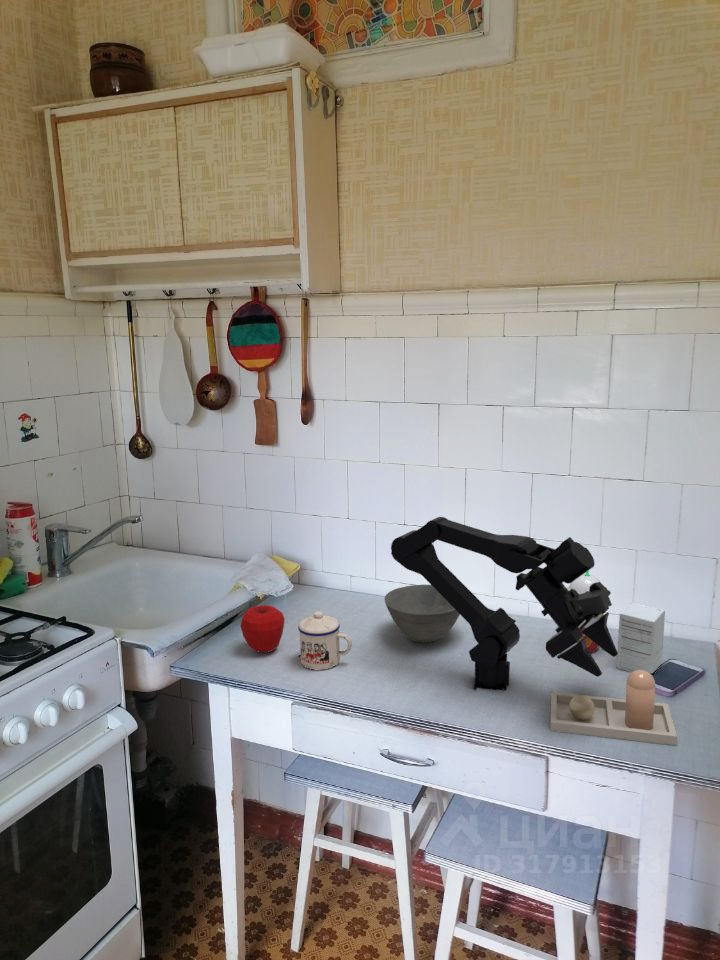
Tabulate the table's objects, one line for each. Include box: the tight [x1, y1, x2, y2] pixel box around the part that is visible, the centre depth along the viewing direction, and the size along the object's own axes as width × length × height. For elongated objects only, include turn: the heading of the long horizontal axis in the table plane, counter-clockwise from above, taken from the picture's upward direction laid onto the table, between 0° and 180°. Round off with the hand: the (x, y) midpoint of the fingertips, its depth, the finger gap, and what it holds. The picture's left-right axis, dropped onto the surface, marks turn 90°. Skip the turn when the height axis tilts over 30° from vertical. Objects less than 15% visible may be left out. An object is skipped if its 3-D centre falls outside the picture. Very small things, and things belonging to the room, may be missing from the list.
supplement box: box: [616, 602, 666, 673], centre depth 152 cm, size 7×7×13 cm
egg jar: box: [625, 670, 656, 730], centre depth 130 cm, size 5×5×10 cm
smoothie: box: [566, 570, 605, 654], centre depth 160 cm, size 8×8×20 cm
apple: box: [240, 604, 285, 653], centre depth 165 cm, size 10×10×11 cm
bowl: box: [384, 584, 461, 644], centre depth 169 cm, size 19×19×10 cm
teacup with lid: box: [297, 611, 353, 670], centre depth 158 cm, size 12×9×12 cm
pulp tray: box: [549, 691, 678, 746], centre depth 132 cm, size 21×11×2 cm, turn 75°
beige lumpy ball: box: [570, 694, 594, 720], centre depth 133 cm, size 4×4×4 cm
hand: (608, 665), depth 132 cm, fingers open, 9 cm apart
